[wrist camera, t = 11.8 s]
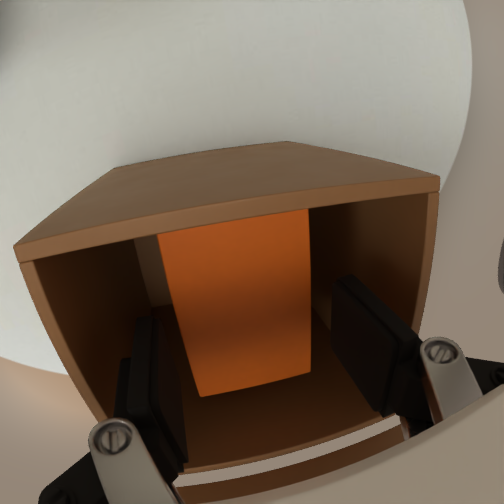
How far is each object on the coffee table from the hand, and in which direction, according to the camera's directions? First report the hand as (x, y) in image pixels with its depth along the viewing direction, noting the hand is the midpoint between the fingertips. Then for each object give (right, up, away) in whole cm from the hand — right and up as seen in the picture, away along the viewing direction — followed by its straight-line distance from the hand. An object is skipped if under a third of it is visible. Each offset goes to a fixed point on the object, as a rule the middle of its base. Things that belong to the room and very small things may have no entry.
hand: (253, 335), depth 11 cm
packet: (-1, +2, +4) cm, 4 cm away
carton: (-3, +4, +12) cm, 13 cm away
